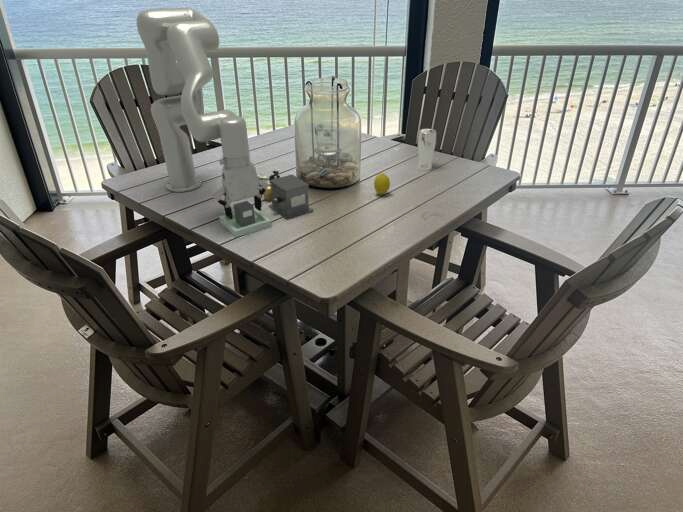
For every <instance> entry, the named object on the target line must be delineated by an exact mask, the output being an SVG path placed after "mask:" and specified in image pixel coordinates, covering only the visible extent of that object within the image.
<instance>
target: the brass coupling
mask: <svg viewBox="0 0 683 512" xmlns="http://www.w3.org/2000/svg"><path fill="white" fill-rule="evenodd" d="M265 190H266V191H265V193H264V194H263V200H264V202H266V203H272V201H271V200H272V190H271V184H270V183H268V184H267V187H266V189H265Z"/></svg>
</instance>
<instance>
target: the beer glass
mask: <svg viewBox="0 0 683 512" xmlns="http://www.w3.org/2000/svg"><path fill="white" fill-rule="evenodd" d="M436 145H437V130H436V129H432V128H421V129H419V131H418V137H417V155H418V158H417V159H418V161H417V165H416V169H418V170H420V171H430V170H432V168H433V165H432V164H433V163H432V162H433V161H432V159H433V155H434V152H435V149H436V148H435V147H436Z"/></svg>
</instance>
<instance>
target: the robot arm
mask: <svg viewBox="0 0 683 512" xmlns="http://www.w3.org/2000/svg"><path fill="white" fill-rule="evenodd" d="M136 29H137V32H138V36H139V37H140V39H141V42H142V43H143V46H144V48H145V51H146V56H147V64H148V69H149V74H150V75H149V76H150V82H151V85H152V88H153V90H154V92H155V93H156V94H157V95H160V96H167V97H162V98H159V99H157V100H155V101H153V103H152V104H151V106H150V112H151V116H152V119H153V122H154V123H155V126H156V127H155V128H156V129H157V132H158V136H159V140H160V145H161V149H162V152H163V153H162V154H163V157H164V161H165V163H164V164H165V166H166V167H165V168H166V171H167V175H168V180H169V181H168V182H166V185H165V186H166V187H165V188H166V189H167V190H168V191H171V192H174V193H183V192H184V193H185V192H190V191H193V190H196V189H198V188H199V187H201V185H202V184H203V183H202V179H200V178H199V177H197V176H196V170H195V163H194V158H193V152H192V147H191V141H190V138H189V136H188V134H187V133H186V132H185V131H184V130H183V129H181V126H184V125H186V126H187V128H188V130H189V132H190V134H191V136H192V137H193V139H194V140H196V141H198V142H200V143H206V142H211V141H215V140H218V139H220V143H221V150H222V158H221V159H219V161H218V163H219V165H220V166H222V171H221V173H222V174H221V177H222V179H221V180H222V187H220V189H218V190H217V191H216V192H215V193H214V194H213V195H212V197H213V198H214V199H215V201H216V202H217V203H218V204H219V205H221V206H223V211H224V214H225V215H226V216H227V217H228V218H229V219H232V218H233V216H232V213H233V211H232V207H231V204H232V202H238V201H242V200H245V199H246V200H247V199H249V198H253V202H254V208H256V209H257V210H258V211H260V212H261V211H262V206H263V203H262V199H263V198H264V193H265V191H266V190H265V189H266V187H267V184H269V183H268V181H264V180H259V179H258V177H257V174H258V173H257V169H256V170H255V168H256V167H255V164H254V162H253V161H251V155H250V146H249V138H248V131H247V130H248V129H247V121H246V120H245V118H244V117H242V116H240V115H236V114H235V112H234V111H232V110H229V109H223V110H218V111H212V112H207V113H205V106H204V105H205V104H204V96H203V94H204V93H203V87H204V86H206V85H207V84H208V83H209V82H210V81H212V79H213V78H214V73H215V72H214V70H213V67H212V65H211V63H210V61H209V59H208V55H207V54H206V53H210V52H215V51H216V50H218V48H219V46H220V37H219V34H218V33H219V32H218V31H217V28H216V27H215V25H214V24H213V23H212V22H211V21H210V19H208V18H207V17H205V16H204V15H203V14H201V13H200V12H198V11H197V10H195V9H193V8H191V7H170V8H169V7H167V8H165V7H163V8H152V9H145V10H142V11H140V12H139V13H138V15H137V17H136ZM178 94H181V95H178ZM170 95H175V96H170ZM222 195H223V196H224V198H223V199H221V196H222Z"/></svg>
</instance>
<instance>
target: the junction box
mask: <svg viewBox="0 0 683 512" xmlns="http://www.w3.org/2000/svg"><path fill="white" fill-rule="evenodd" d="M268 181H269V184H270V183H271V190H272V200H271V201H272V202H271V204H268V207H269V208H270V209H271V210H273V211H275V212H276V213H277V214H278V215H280V216H281V217H282V218H283V219H285V220H291V219H293V218H297V217H301V216H303V215H307V214H310V213H314V209H312V208H311V207H309V206H310V205H309V187H310V185H309V183H307V182H306V181H304V180H302V179H300V178H299V177H297V176H295V175H293V174H288V175H285V176H280V178H277V177H276V179H272V180H268Z"/></svg>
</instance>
